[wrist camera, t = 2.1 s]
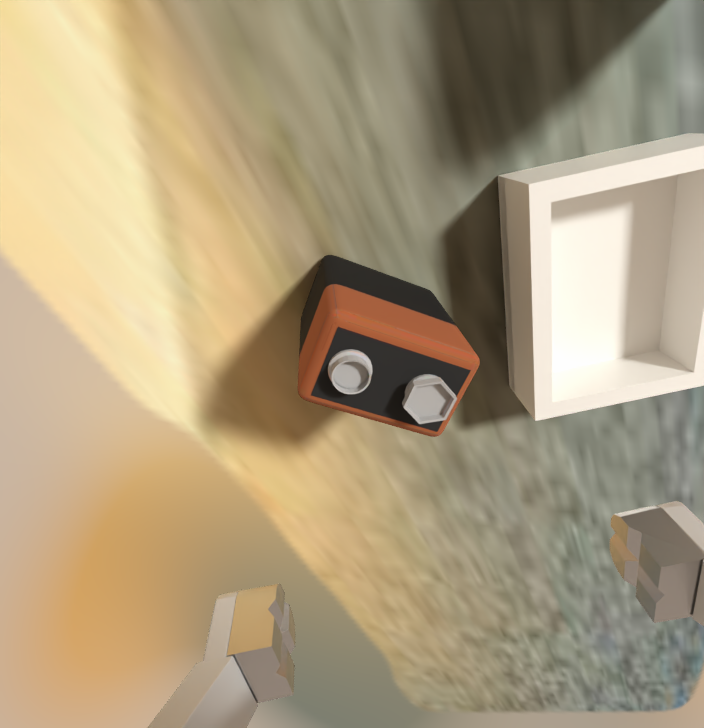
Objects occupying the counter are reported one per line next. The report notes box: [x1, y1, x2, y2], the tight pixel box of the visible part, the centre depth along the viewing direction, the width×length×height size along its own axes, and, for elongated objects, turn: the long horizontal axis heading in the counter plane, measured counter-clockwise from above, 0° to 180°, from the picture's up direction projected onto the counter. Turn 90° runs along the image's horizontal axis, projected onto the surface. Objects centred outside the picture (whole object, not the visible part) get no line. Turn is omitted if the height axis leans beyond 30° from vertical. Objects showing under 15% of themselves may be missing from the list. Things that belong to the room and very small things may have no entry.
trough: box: [498, 133, 704, 421], centre depth 26 cm, size 13×10×4 cm
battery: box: [298, 255, 480, 437], centre depth 23 cm, size 4×7×10 cm, turn 69°
